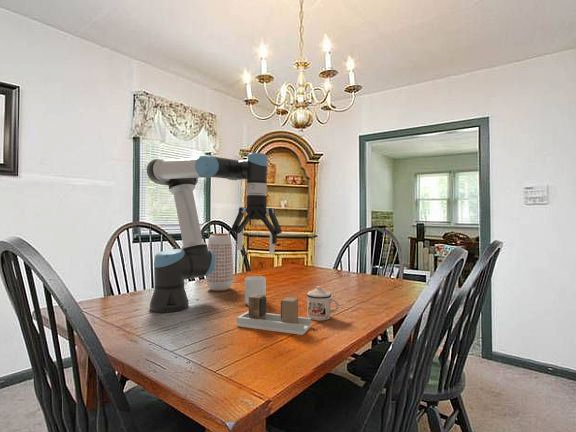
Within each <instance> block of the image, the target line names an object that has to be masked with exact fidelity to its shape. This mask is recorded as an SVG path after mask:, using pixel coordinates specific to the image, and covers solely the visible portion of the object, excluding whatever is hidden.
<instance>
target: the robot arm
mask: <svg viewBox="0 0 576 432" xmlns="http://www.w3.org/2000/svg"><path fill="white" fill-rule="evenodd" d="M246 157H247V158H246V159H240V160H239V159H231V158H226V157H218V156H214V155H209V154H208V155H207V154H206V155H205V154H203V155H200V156H199V157H192V158H191V157H190V158H181V159H180V158H179V159H169V158H165V157H164V158H163V157H162V158H161V157H160V158H158V157H157V158H154V159H151V161H149V163H148V164H147V167H146V174H147V176H148V179H149V180H150V181H152V182H153V183H154V184H157V185H160V186H161V185H162V186H167V187H168V191H169V193H171V194H172V195H173V197H174V203H175V209H176V213H177V220H178V224H179V229H180V237H181V242H182V247H181V248H174V249H173V248H172V249H167V250H166V249H165V250H162V251H159V252H158V253H156V254H155V255H154V260H153V261H154V262H153V267H154V269H153V271H154V273H153V275H154V279H153V281H154V283H153V285H154V289H153V293H152V297H151V300H150V303H149V311H151V312H154V313H174V312H179V311H184V310H186V309H187V308H189V303H190V301H189V299H188V296H187V293H186V292H187V291H186V290H185V280H189V279H190V280H191V279H196V278H203V277H206V276H207V275H209V274H210V273H211V272H212V271H213V269H214V267H215V263H216V258H215V254H214V253H213V252H212V250H209V249H208V243H206V242H204V241H203V237H202V231H201V226H200V221H199V217H198V216H199V215H198V211H197V206H196V200H195V195H194V191H195V189H196V186H197V184H198V182H199V180H198V179H200V178H206V179H207V178H216V179H217V178H218V179H226V180H229V181H238V180H239V181H240V180H246V194H247V195H246V208H245V207H244V206H243V207H242V206H240V207H239V208H238V213H237V216H236V218H235V220H234V222H233V224H232V226H231V229H230V231H231V232H235V242H236V243H237V246H236V249H237V250H236V251H242V250H243V245H244V242H243V241H244V240H243V239H244V237H243V236H244V232H243V230H244V229H245V228H246V226H247V225H248V224H249V222H250V221H251V220H253V221H254V220H257V221H260V220H261V222H262V223H263V224H264V225H265V227H266V228H267V229H268V231H269V233H270V235H269V254H274V253H275V247H276V246H275V245H276V244H277V243H278V235H280V234H282V233H283V231H282V228H281V226H280V223H279V221H278V219H277V216H276V214H275V208H273V207H269V208H267V199H268V198H267V193H268V166H269V165H268V155H267V154H266V153H262V152H250V153H248V154H247V155H246ZM245 214H246V215H245ZM266 214H267V215H268V216H269V217H267V215H266ZM244 215H245V216H244ZM243 217H244V219H243ZM269 219H270V220H269Z"/></svg>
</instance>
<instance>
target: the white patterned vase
mask: <svg viewBox="0 0 576 432" xmlns="http://www.w3.org/2000/svg"><path fill="white" fill-rule="evenodd" d="M207 247H208V249H209V250H212V252H213V253H214V254H215V258H216V263H215V267H214V269H213V271H212V272H211V273H210V274H209V275H206V276H205V277H206V285H207V287H208V288H209V289H210V290H211V292H226V291H228V290H230V288H231V287H232V285H233V283H234V257H233V255H234V254H233V244H232V237H231V236H230V235H229V233H227V232H226V233H225V232H223V233H221V232H219V233H211V234H210V236H209V237H208V242H207Z"/></svg>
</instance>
